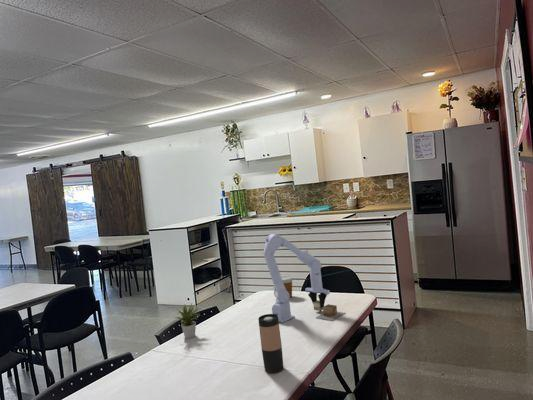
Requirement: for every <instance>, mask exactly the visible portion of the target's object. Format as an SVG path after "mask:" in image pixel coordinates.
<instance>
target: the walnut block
mask: <svg viewBox="0 0 533 400" xmlns="http://www.w3.org/2000/svg"><path fill="white" fill-rule="evenodd" d="M337 307H338V306H337V305H334V304H326V305H324V307H323V310H322V312H323V313H322V314H324V316H327V317H333V316H335V315H337V312H338V309H337Z"/></svg>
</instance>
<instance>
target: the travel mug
mask: <svg viewBox="0 0 533 400" xmlns="http://www.w3.org/2000/svg"><path fill="white" fill-rule="evenodd" d="M257 319H258V327H259V329H258V330H259V337H260V338H259V339H260V347H261V355H262V359H263V361H262V362H263V367H264V371H265V373H267V374H269V375H270V374H272V375H273V374H279V373H281V372H283V370H284V358H283V347H282V338H281V331H280V322H279V321H278V316H277V315H276V314H272V313H267V314H263V315H260V316H259V317H258V318H257Z"/></svg>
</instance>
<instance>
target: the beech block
mask: <svg viewBox="0 0 533 400" xmlns="http://www.w3.org/2000/svg"><path fill="white" fill-rule="evenodd" d="M312 305H313V310H314V311H318V312H321V311H323V307H322V308H321V306H320V300H318V299H317V301H315V302H313V303H312Z"/></svg>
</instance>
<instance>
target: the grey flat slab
mask: <svg viewBox="0 0 533 400" xmlns="http://www.w3.org/2000/svg"><path fill="white" fill-rule="evenodd" d="M343 314H344V315H346V312H343V311H342V312H341V311H337V315H335V316H333V317H327V316H324V314H323V313H321V314H320V315H317V316H315V319H319V320H323V321H328V322H329V321H330V322H333V321H336V319H339V318H340V317H342V316H344V315H343Z"/></svg>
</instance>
